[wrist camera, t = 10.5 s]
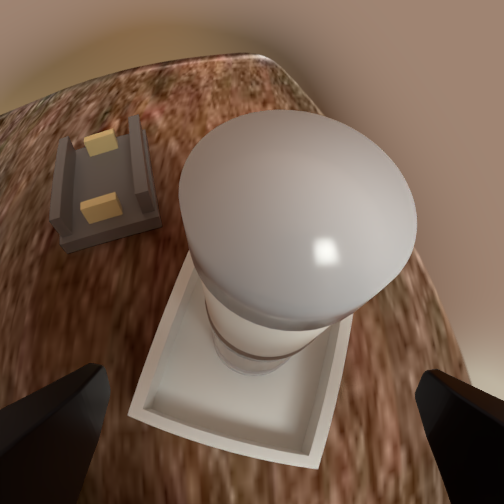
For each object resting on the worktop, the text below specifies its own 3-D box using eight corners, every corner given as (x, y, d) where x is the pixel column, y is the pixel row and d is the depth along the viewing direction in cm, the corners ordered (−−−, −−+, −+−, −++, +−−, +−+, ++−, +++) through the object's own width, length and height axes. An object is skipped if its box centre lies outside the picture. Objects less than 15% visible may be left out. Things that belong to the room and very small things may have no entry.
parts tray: (305, 460, 13) (317, 469, 11) (142, 414, 14) (127, 415, 12) (347, 266, 19) (361, 247, 17) (210, 228, 20) (208, 205, 17)
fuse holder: (162, 226, 19) (152, 196, 17) (67, 253, 18) (45, 228, 15) (147, 140, 23) (140, 110, 20) (71, 163, 22) (58, 136, 19)
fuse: (263, 391, 14) (358, 364, 4) (197, 344, 15) (126, 203, 5) (308, 327, 16) (436, 180, 5) (244, 284, 17) (270, 88, 6)
